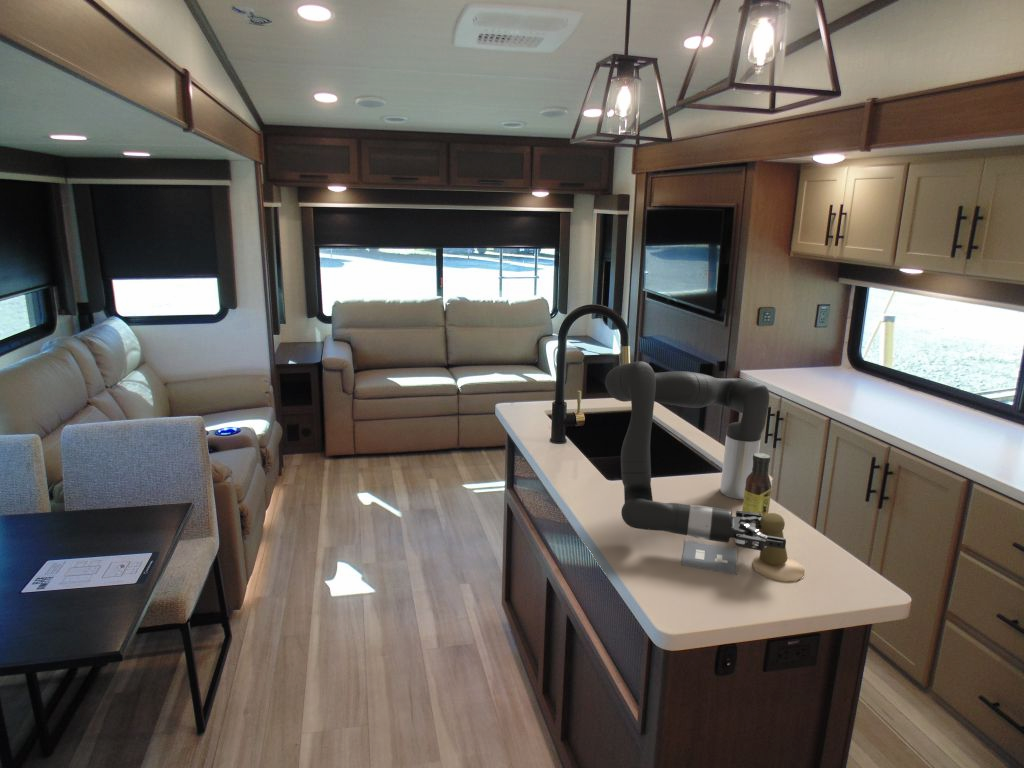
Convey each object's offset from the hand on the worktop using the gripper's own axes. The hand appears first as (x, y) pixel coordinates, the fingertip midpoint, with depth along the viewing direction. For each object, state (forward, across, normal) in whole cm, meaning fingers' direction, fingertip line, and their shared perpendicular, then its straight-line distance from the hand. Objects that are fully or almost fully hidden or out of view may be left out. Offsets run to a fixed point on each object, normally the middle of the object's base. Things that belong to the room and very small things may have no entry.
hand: (784, 535), depth 150 cm
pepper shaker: (-1, +3, +7) cm, 8 cm away
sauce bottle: (-5, +19, +9) cm, 22 cm away
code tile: (-15, 0, +8) cm, 18 cm away
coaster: (0, 0, +8) cm, 8 cm away
